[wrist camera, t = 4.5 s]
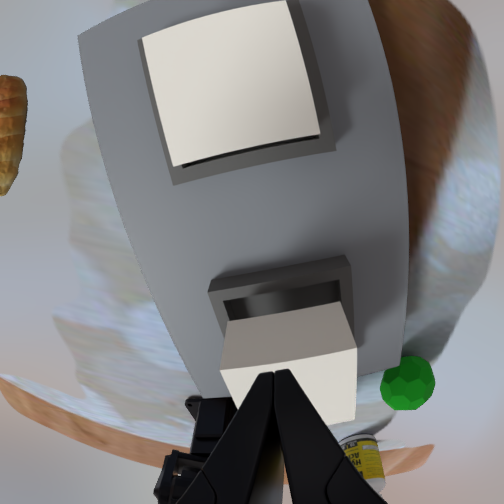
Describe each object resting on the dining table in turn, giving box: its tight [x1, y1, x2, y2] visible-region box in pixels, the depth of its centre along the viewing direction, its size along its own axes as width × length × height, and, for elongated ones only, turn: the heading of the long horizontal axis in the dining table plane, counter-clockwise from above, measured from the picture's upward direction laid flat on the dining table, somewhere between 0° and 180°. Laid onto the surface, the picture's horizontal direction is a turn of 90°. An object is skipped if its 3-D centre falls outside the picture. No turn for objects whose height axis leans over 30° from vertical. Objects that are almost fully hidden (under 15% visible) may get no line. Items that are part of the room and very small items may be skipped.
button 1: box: [220, 301, 357, 425], centre depth 12 cm, size 5×5×3 cm
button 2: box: [142, 0, 320, 167], centre depth 10 cm, size 5×5×3 cm
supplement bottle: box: [339, 434, 386, 497], centre depth 24 cm, size 5×5×10 cm
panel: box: [78, 0, 409, 398], centre depth 15 cm, size 24×14×5 cm, turn 13°
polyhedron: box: [380, 356, 435, 410], centre depth 21 cm, size 5×5×5 cm
